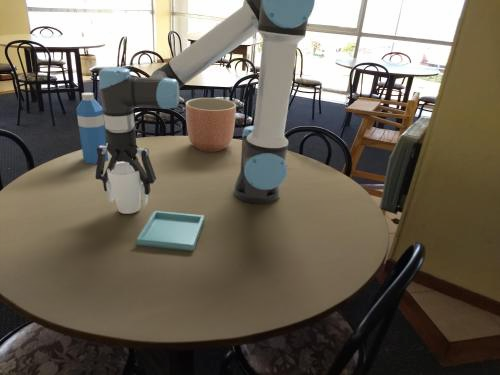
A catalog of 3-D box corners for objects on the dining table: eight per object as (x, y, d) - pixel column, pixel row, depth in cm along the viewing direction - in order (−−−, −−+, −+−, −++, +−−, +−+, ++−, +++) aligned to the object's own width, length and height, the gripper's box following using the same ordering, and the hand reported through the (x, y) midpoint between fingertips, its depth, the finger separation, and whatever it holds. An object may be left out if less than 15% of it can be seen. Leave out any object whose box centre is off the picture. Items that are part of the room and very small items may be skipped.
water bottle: (103, 164, 139) (95, 97, 128) (78, 163, 139) (68, 95, 128) (112, 155, 148) (105, 91, 137) (88, 153, 148) (79, 90, 137)
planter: (179, 152, 155) (178, 107, 147) (194, 136, 174) (194, 95, 165) (228, 158, 153) (230, 112, 144) (238, 142, 171) (240, 100, 163)
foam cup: (136, 218, 106) (132, 176, 100) (106, 213, 107) (100, 172, 101) (151, 202, 114) (147, 163, 108) (122, 198, 116) (118, 159, 110)
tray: (204, 221, 108) (204, 215, 107) (193, 251, 95) (193, 244, 94) (155, 216, 109) (154, 210, 108) (137, 245, 96) (136, 239, 95)
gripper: (165, 127, 102) (169, 199, 112) (86, 121, 104) (97, 193, 114) (156, 135, 96) (161, 211, 106) (73, 129, 97) (86, 205, 107)
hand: (128, 202), depth 110 cm, fingers closed on foam cup, 9 cm apart
